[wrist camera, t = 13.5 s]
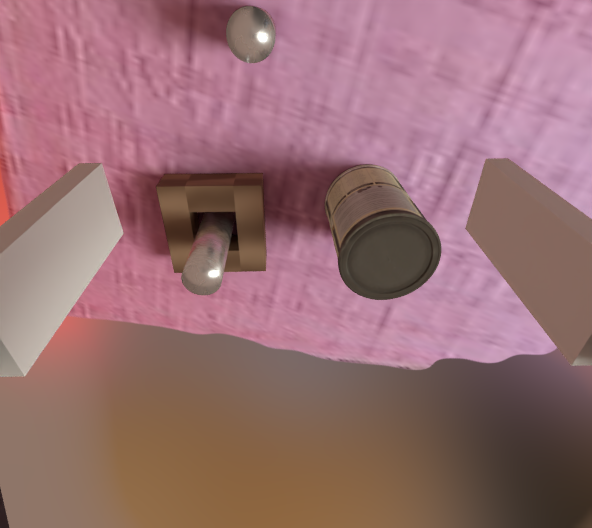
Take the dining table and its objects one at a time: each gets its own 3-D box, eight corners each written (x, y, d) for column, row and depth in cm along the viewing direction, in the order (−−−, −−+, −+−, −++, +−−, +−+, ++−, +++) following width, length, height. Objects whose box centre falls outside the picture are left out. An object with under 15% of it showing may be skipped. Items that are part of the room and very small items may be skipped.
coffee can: (419, 193, 49) (463, 250, 37) (365, 248, 53) (389, 314, 42) (361, 146, 45) (389, 193, 34) (308, 209, 50) (317, 270, 38)
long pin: (202, 203, 49) (178, 263, 37) (233, 203, 49) (219, 262, 37) (206, 230, 51) (184, 295, 39) (236, 230, 51) (223, 294, 39)
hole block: (164, 174, 46) (155, 186, 43) (262, 173, 47) (261, 185, 43) (180, 256, 53) (174, 272, 50) (266, 254, 53) (265, 271, 50)
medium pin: (234, 6, 37) (223, 5, 30) (275, 7, 37) (274, 6, 30) (238, 53, 39) (228, 63, 32) (276, 53, 40) (275, 63, 32)
